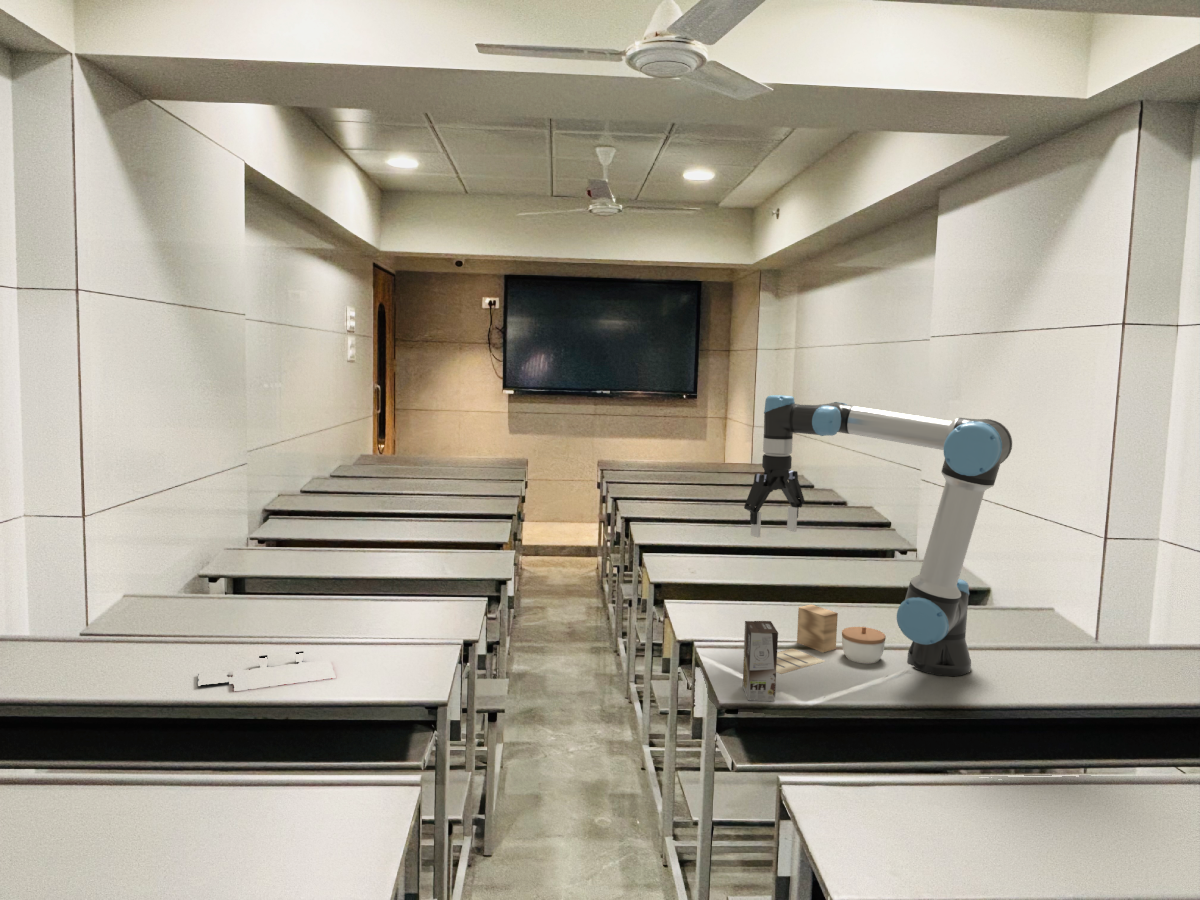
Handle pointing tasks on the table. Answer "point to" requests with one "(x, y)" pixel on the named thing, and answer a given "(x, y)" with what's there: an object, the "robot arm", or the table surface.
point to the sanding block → (817, 628)
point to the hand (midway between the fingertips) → (773, 533)
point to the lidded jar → (863, 644)
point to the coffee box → (760, 660)
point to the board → (794, 660)
